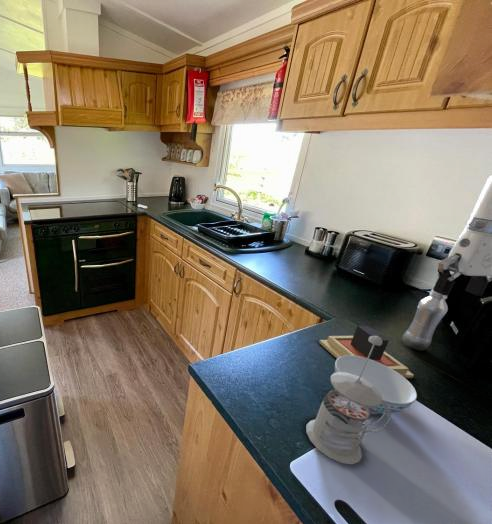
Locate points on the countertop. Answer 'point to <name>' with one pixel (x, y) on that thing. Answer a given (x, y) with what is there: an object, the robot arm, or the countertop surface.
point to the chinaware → (380, 382)
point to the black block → (367, 345)
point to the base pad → (340, 350)
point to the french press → (350, 405)
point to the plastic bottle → (425, 321)
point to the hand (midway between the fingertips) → (456, 293)
